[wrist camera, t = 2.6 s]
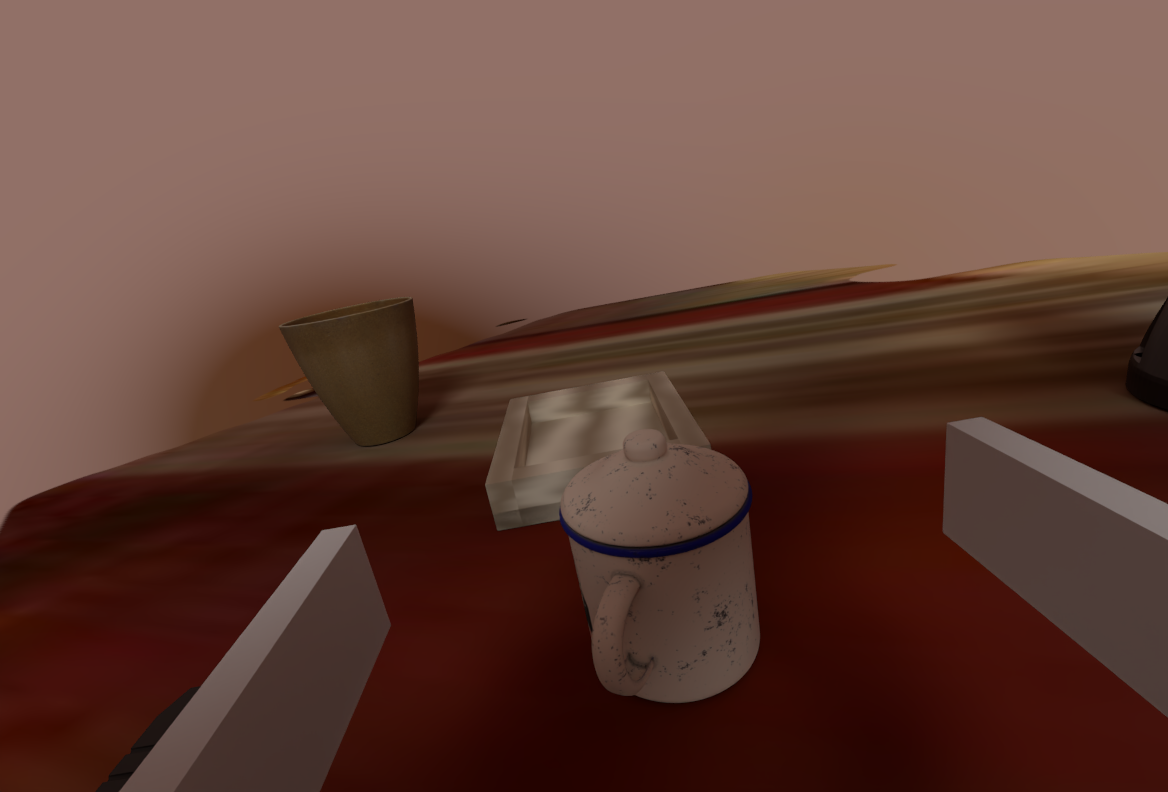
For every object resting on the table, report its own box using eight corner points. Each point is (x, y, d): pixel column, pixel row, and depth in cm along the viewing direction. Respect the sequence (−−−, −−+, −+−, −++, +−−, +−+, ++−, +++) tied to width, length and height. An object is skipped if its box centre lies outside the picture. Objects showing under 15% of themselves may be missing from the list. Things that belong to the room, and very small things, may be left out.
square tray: (668, 405, 61) (663, 371, 59) (716, 491, 42) (710, 444, 40) (518, 432, 61) (510, 399, 60) (497, 530, 42) (485, 485, 41)
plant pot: (450, 436, 64) (411, 301, 59) (316, 473, 60) (263, 333, 55) (442, 402, 78) (411, 290, 73) (333, 431, 74) (292, 316, 69)
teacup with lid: (624, 571, 35) (593, 400, 31) (775, 591, 30) (759, 397, 27) (531, 740, 25) (468, 516, 21) (738, 803, 20) (704, 539, 17)
